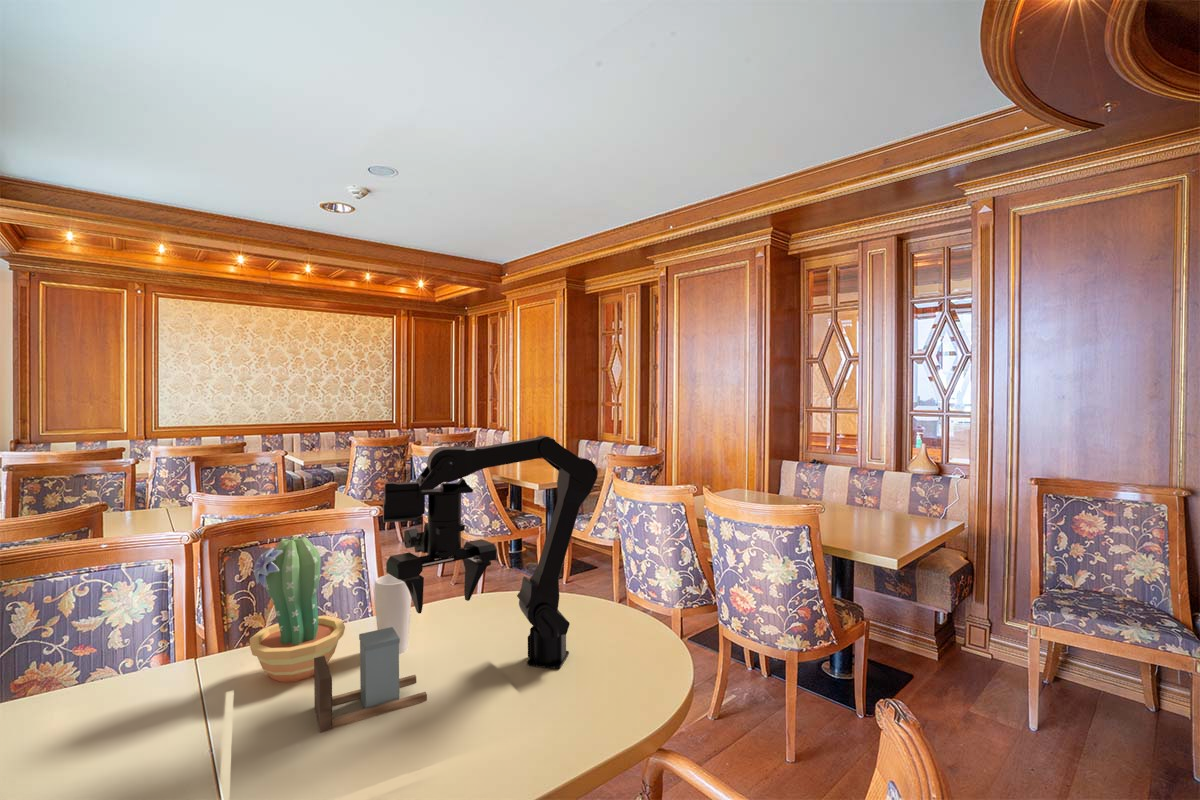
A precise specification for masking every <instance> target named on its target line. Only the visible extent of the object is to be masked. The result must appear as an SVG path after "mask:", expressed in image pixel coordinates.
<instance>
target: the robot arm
mask: <svg viewBox="0 0 1200 800" xmlns="http://www.w3.org/2000/svg"><path fill="white" fill-rule="evenodd" d="M537 459H543V460H544V461H545V462H547V463H548V464H549V465H550V466H552V467H553V469H556V470H557V471H558V473H557V479H556V484H557V485H556V486H557V488H556V489H557V501H556V502H555V507H554V511H553V513H552V517H551V521H550V525H549V527H548V530H547V535H546V537H545V541H544V545H543V547H542V550H541V555H540V556H539V557H540V558H539V561H538V564H537V567H536V570H535V572H533V574H532V575H531V576H530V578H529V577H527V576H523V578H522V581H521V587H520V590H519V592H518V593H517V594H516V596H517V598H518V606H519V608H520V611H521V612H522V613H523V616H525V618H526V619H527V621H528V622H529V623H530V625H532V627H530V629H529V634H528V636H527V657H528V660H527V661H526V665H527V666H530V667H538V668H547V669H555V670H556V669H557V670H558V669H561V667H562V666H563V664H564V663H565V661H566V660H567V657H569V655H570V651H569V650H567V633H568V631H569V628H570V621H568V619H567V618H566V617H565V616H564V615H563V614H562V612H560V611H559V604H560V576H561V572H562V569H563V565H564V562H565V560H566V559H565V558H566V556H567V552H568V549H569V546H570V545H569V544H570V541H571V538H572V535H573V531H574V528H575V525H576V522H577V518H578V515H579V511H580V508H581V506H582V504H583V503H584V502H585V501H586V499H587V498H588V497H590V496H589V495H590V494H591V492H592V490H593V488H594V485H595V484H596V482H597V479H598V475H599V473H598V472H599V471H598V468H597V466H596V464H595V463H594V462H593V461H592V460H590V459H587V458H584V457H581V456H578V455H576V454H574V453H573V452H571V451H570V450H569V449H567V448H566V447H564V446H562V445H561V444H559V442H557V441H556V439H554V437H551V436H548V435H538V436H536V437H532V438H525V439H520V440H516V441H515V440H514V441H509V442H503V443H501V442H500V443H496V444H491V445H484V446H478V447H476V446H475V447H474V446H471V447H470V446H440V447H436V448H435V449H433V450H432V451H431V453H429V455H428V458H427V459H426V460H427V462H426V463H427V464H426V465H427V466H426V467H425V468H424V469H423V470H422V472H421V474H420V475H418V477H417V478H416V480H415V481H408V482H406V481H405V482H396V481H386V482H385V483H384V497H383V499H382V521H383V524H384V523H385V524H388V523H400V522H413V521H414V522H415V521H418V520H419V518H421V517H422V515H425V513H426V512H425V511H426V496H427V499H428V500H427V522H424V525H423V531H421V532H420V531H418V528H411V529H407V530H405V531H404V535H403V543H404V547H405V549H412V548H414V553H420V552H421V553H423V554H426V555H421V556H417V555H415V554H414V553H411V552H405V553H399V554H394V555H390V556H389V558H388V559H387V560H386V567H385V568H386V569H385V570H386V571H385V572H386V574H388V575H389V574H390V575H392V576H393V577H395V578H397V579H398V580H402V581H403V582H405V584H406V586H407V587H408V590H409V592H410V595H411V597H412V598H411V601H412V603H413V606H414V608H415V611H416V613H418V614H422V611H423V606H424V605H423V604H424V587H425V585H424V584H425V580H424V579H425V577H424V576H422V575H421V573H423V570H424V569H423V568H427V567H432V566H438V565H442V564H449V563H452V562H456V561H457V562H458V561H462V563H463V566H464V591H463V592H464V600H465V601H466V602H468V601H470V600H471V598H472V595H473V594H474V592H475V590H476V588H477V585H478V583H479V581H480V580H481V577H482V576H483V574H484V573H485V571H486V569H487V567H488V566H489V567H490V566H491V565H492V561H496V560H498V548H497V545H496V544H495V543H493V542H490V541H488V540H485V539H483V538H482V539H481V538H480V539H476V540H475V539H474V540H469V541H466V542H465V543H464V545H463V547H462V532H465V529H466V525H465V524H463V523H462V494H471V493H473V492H474V489H473V488H472V487H471V486H470V485H468V483H467V482H466V479H465V478H466V477H468V476H471V475H473V474H474V473H476V472H479V471H481V470H485V469H488V468H494V467H499V466H505V465H510V464H515V463H516V464H517V463H521V462H527V461H534V460H537ZM457 480H458V481H457ZM454 481H456V482H454ZM439 485H440V487H439V488H437V487H438V486H439Z"/></svg>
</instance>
